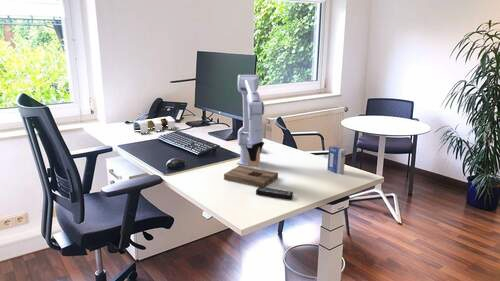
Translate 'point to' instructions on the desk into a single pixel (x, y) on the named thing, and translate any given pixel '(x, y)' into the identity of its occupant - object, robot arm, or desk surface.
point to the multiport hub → (274, 193)
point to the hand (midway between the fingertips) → (254, 159)
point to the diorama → (153, 123)
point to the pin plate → (251, 176)
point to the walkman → (336, 160)
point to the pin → (254, 163)
